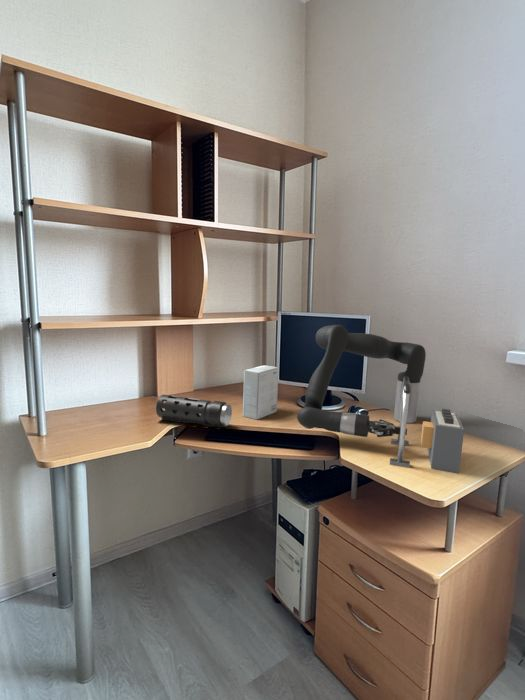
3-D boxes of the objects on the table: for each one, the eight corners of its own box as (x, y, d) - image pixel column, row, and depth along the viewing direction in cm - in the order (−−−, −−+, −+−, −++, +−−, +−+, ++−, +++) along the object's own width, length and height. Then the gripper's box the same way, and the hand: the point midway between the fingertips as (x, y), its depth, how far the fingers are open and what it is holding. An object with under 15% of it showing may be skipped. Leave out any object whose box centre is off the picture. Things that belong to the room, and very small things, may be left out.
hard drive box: (262, 408, 190) (265, 364, 188) (277, 412, 186) (279, 367, 183) (241, 416, 178) (243, 369, 175) (256, 420, 173) (259, 372, 171)
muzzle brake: (167, 416, 173) (168, 391, 172) (232, 425, 166) (233, 400, 164) (155, 423, 164) (155, 396, 163) (222, 433, 156) (223, 406, 155)
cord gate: (391, 441, 157) (397, 374, 153) (408, 443, 155) (415, 376, 151) (389, 464, 136) (397, 387, 132) (409, 467, 134) (417, 389, 130)
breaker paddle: (420, 440, 145) (423, 421, 144) (436, 443, 144) (438, 423, 143) (421, 446, 140) (423, 426, 139) (438, 449, 138) (440, 428, 137)
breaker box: (427, 448, 151) (432, 405, 149) (452, 452, 149) (457, 408, 146) (431, 468, 134) (436, 419, 132) (458, 473, 132) (465, 423, 129)
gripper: (353, 419, 142) (408, 426, 137) (357, 409, 154) (407, 415, 149) (351, 440, 143) (405, 449, 138) (355, 429, 156) (405, 436, 150)
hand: (406, 431), depth 144 cm, fingers closed
